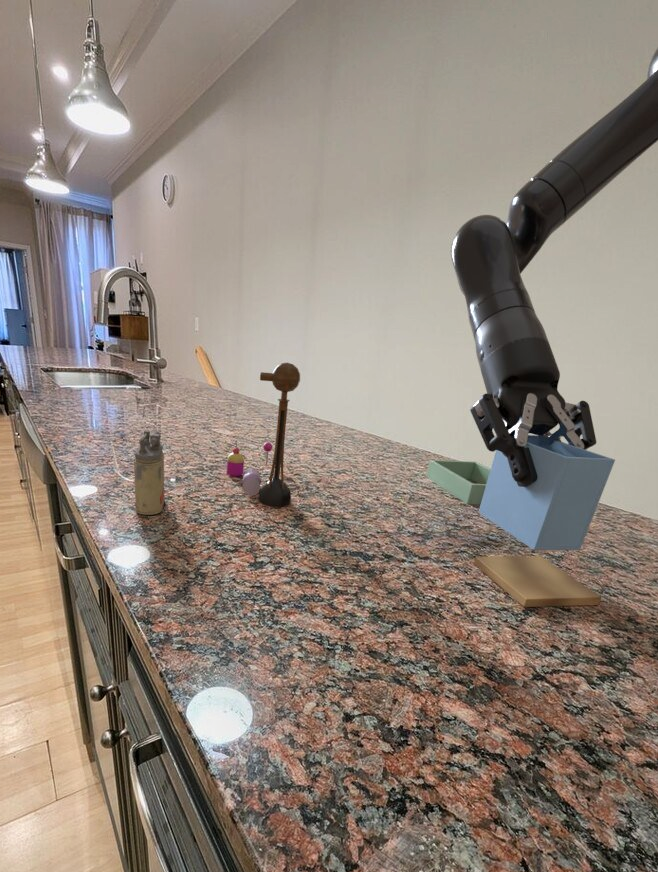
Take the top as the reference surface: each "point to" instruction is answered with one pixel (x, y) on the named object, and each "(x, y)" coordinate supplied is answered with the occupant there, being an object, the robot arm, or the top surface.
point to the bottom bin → (460, 478)
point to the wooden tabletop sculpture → (279, 435)
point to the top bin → (547, 495)
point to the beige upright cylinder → (149, 475)
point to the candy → (250, 475)
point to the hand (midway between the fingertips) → (554, 484)
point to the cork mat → (536, 581)
